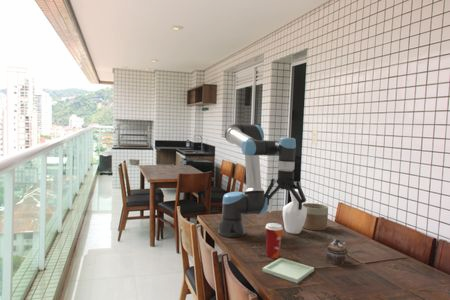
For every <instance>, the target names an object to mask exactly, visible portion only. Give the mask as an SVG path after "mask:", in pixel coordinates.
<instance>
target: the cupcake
mask: <svg viewBox="0 0 450 300" xmlns="http://www.w3.org/2000/svg"><path fill="white" fill-rule="evenodd" d="M347 255H348V250H347V246H346V242H345V241H344V240H340V239H337V238H336V239H333V240H332V242H330V243H329V244H328V245H327V248H325V256H326V261H327V263H329V264H332V265H337V266H340V265H341V266H342V265H344V264H345V262H346V258H347Z"/></svg>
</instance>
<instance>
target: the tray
mask: <svg viewBox="0 0 450 300" xmlns="http://www.w3.org/2000/svg"><path fill="white" fill-rule="evenodd" d="M314 271H315V267H313V266H310V265H307V264H303V263H300V262H297V261H294V260H290V259H286V258H284V257H278V258H277V259H276V260H274V261H272V262H270V263H269V264H267V265H265V266H264V267H262V272H263V273H266V274H268V275H271V276H274V277H277V278H279V279H280V278H281V279H283V280H286V281H288V282H291V283H295V284H299V283H300V282H301V281H302V280H305V278H306V277H308V276H309V275H311V274H312V273H313V272H314Z"/></svg>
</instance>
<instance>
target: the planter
mask: <svg viewBox="0 0 450 300" xmlns="http://www.w3.org/2000/svg"><path fill="white" fill-rule="evenodd" d="M302 205H303V206H304V207H305V208H306V209H307V216H306V220H305V223H304V226H303V228H304V229H306V230H309V231H316V232H317V231H324V230H327V228H328V221H329V219H328V217H329V206H327V205H325V204H322V203H321V204H320V203H314V202H313V203H312V202H309V203H307V202H304V203H302Z"/></svg>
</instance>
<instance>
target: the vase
mask: <svg viewBox="0 0 450 300" xmlns="http://www.w3.org/2000/svg"><path fill="white" fill-rule="evenodd" d="M294 189H295V191H296V192H297V194H298V195H299V197H300V194H299V192H298V189H297V188H294ZM289 194H290V197H291V198H290V199H291V201H290V202H289V203H287V204H285V205H284V206H283V207H282V220H283V226H284V230H285V231H286V233H289V234H295V235H296V234H300V233H301V232H302V230H303V228H304V227H303V226H304V223H305V220H306V216H307V209H306V208H305V207H304V206H303V205H302V209H301V210H300V211H299V216H298V217H296V209H297V203H298V201H297V199H296V198H295V197H294V195H293V194H292V192H291V191H290V190H289ZM300 198H301V197H300Z"/></svg>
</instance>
